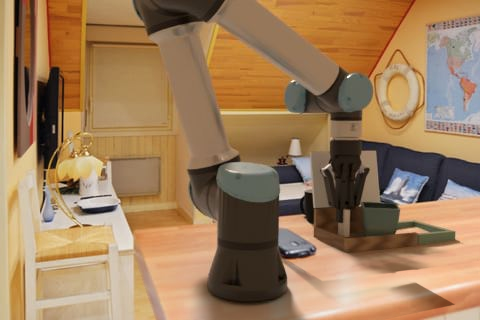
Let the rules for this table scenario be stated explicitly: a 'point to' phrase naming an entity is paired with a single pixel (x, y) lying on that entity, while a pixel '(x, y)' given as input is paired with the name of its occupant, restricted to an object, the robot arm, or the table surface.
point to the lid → (318, 186)
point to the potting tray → (429, 232)
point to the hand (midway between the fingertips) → (343, 235)
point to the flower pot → (380, 218)
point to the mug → (308, 205)
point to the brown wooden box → (329, 232)
